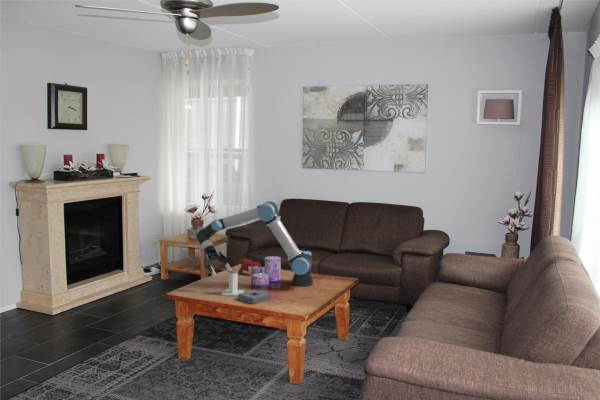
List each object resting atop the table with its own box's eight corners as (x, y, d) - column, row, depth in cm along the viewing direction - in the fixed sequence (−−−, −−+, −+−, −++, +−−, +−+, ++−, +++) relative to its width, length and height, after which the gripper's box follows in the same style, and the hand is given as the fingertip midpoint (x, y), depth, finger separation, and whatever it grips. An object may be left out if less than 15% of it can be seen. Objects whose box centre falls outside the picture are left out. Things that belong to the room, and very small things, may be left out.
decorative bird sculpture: (255, 283, 384) (266, 266, 389) (247, 276, 379) (259, 259, 384) (234, 275, 405) (245, 259, 411) (226, 268, 400) (238, 253, 406)
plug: (233, 290, 344) (233, 269, 343) (238, 292, 341) (238, 270, 340) (228, 292, 341) (228, 270, 339) (232, 293, 338) (232, 272, 336)
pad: (244, 291, 346) (244, 290, 346) (239, 296, 334) (239, 295, 334) (226, 290, 348) (226, 289, 348) (221, 295, 336) (221, 294, 336)
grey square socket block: (254, 295, 339) (254, 289, 339) (269, 299, 330) (270, 294, 329) (238, 299, 329) (238, 293, 328) (253, 304, 319) (253, 298, 319)
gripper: (220, 248, 367) (234, 273, 359) (190, 254, 349) (205, 280, 340) (225, 242, 363) (239, 267, 355) (195, 247, 345) (210, 273, 336)
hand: (223, 273), depth 348 cm, fingers open, 13 cm apart
